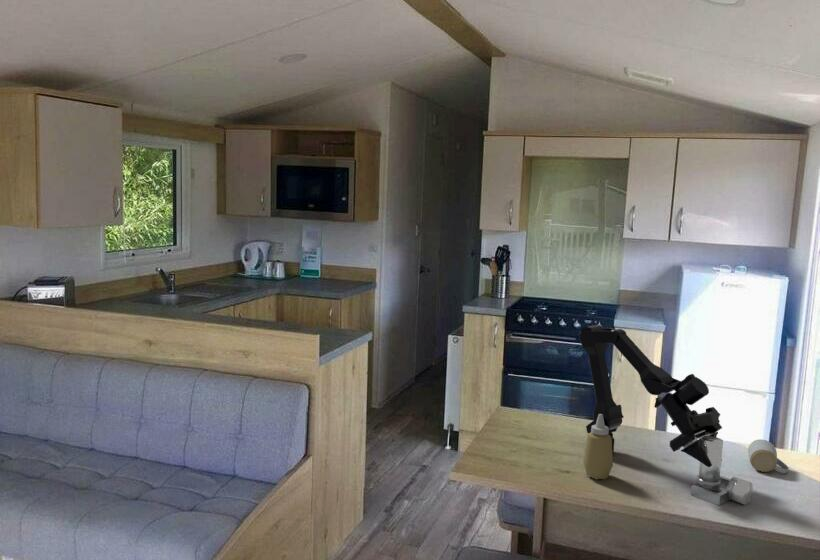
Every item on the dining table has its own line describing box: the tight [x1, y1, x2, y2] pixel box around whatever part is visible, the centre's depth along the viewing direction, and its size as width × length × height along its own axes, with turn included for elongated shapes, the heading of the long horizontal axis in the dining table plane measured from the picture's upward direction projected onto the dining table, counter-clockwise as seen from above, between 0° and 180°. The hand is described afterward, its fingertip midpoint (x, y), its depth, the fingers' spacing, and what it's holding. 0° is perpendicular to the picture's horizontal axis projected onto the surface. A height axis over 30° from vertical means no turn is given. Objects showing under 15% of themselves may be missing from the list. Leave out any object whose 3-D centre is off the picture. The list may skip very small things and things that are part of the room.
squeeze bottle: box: [582, 414, 614, 480], centre depth 190 cm, size 8×8×18 cm
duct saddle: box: [690, 475, 754, 506], centre depth 180 cm, size 12×13×6 cm
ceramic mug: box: [747, 439, 789, 474], centre depth 198 cm, size 11×8×8 cm
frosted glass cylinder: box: [696, 436, 724, 491], centre depth 183 cm, size 6×6×13 cm
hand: (715, 464), depth 181 cm, fingers closed on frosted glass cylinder, 5 cm apart
